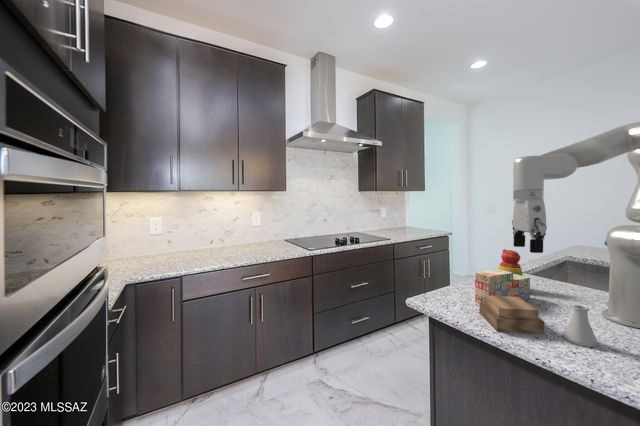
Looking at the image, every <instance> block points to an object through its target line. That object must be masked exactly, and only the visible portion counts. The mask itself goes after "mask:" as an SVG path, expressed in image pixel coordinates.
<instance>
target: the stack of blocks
mask: <svg viewBox="0 0 640 426" xmlns="http://www.w3.org/2000/svg"><path fill="white" fill-rule="evenodd" d="M474 284H475V286H474V287H475V296H474V298H475V299H474V301H475V302H476V303H478V304H480V302H481V303H484V295H486V296H509V297H520V298H521V299H523V300H524V301H526V302H528V301H530V300H531V285H530V284H531V278H530V277H528V276H524V275H523V276H521V275H517V274H513V273H512V272H508V271H504V270H501V269H498V268H497V269H490V270H484V271H483V270H482V271H476V272H475V280H474Z"/></svg>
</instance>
